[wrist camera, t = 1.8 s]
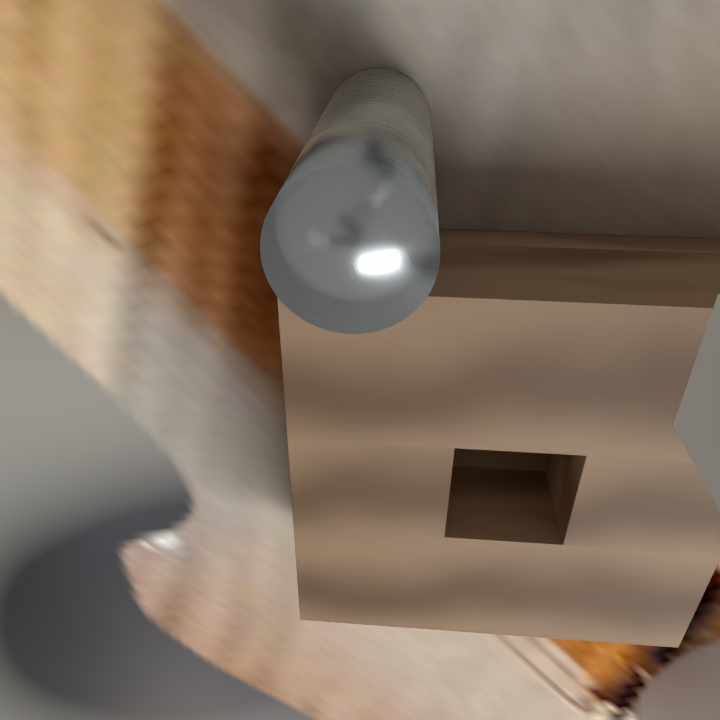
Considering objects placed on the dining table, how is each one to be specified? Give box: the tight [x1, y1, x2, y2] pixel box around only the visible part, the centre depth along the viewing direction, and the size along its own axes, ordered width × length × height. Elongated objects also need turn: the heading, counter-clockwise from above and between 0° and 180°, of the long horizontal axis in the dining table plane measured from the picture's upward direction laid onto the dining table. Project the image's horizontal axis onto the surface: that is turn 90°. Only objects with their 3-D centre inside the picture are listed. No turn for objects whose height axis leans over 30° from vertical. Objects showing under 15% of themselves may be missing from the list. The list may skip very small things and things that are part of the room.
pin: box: [260, 68, 440, 334], centre depth 19 cm, size 4×4×12 cm
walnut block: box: [277, 229, 720, 647], centre depth 28 cm, size 18×18×6 cm
